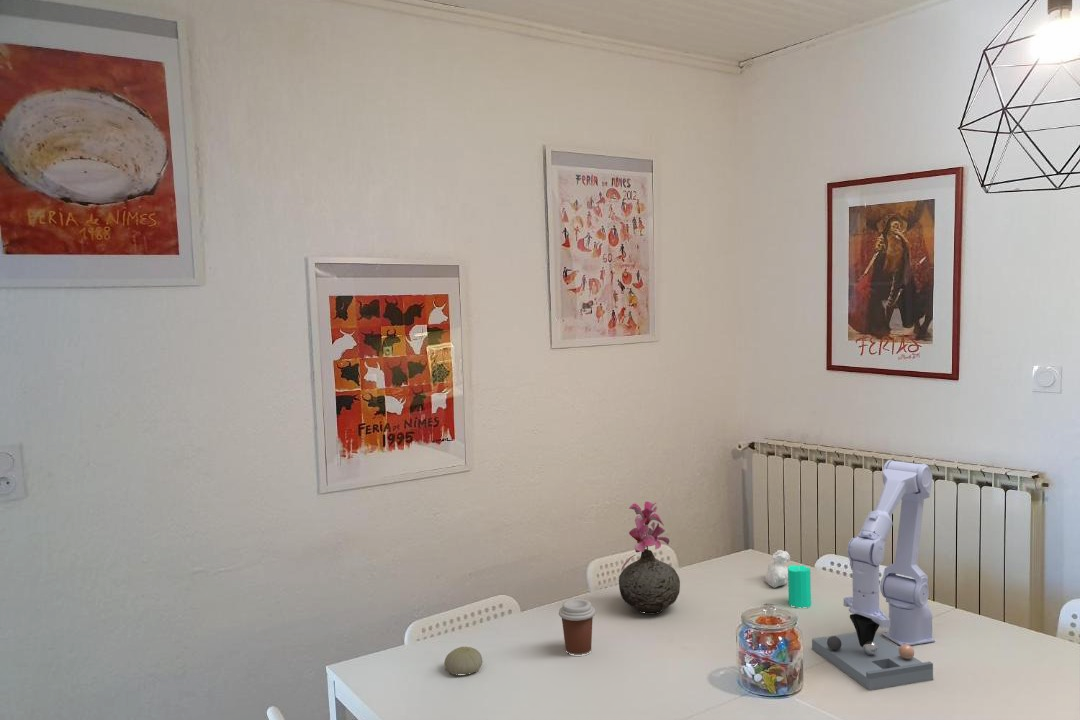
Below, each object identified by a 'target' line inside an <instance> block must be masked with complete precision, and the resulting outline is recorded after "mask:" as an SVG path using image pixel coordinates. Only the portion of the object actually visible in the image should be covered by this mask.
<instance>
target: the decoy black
mask: <svg viewBox="0 0 1080 720" xmlns="http://www.w3.org/2000/svg"><path fill="white" fill-rule="evenodd" d="M830 636H831V637H829V638H828V640H827V645H828V647H829V648H830V649H831V650H839V649H840V648H841V645H842V644H841V640H840V639H839V638H838V637H836V636H835V635H830Z"/></svg>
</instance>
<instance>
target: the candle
mask: <svg viewBox="0 0 1080 720" xmlns="http://www.w3.org/2000/svg"><path fill="white" fill-rule="evenodd" d="M787 568H788V581H787V584H788V589H787V590H788V605H789V604H790V605H792V606H795V607H801V608H803V607H810V606H812V586H811V585H812V581H811V580H812V579H811V568H809V567H807V566H805V565H795V564H794V565H793V564H791V565H790V566H788V567H787ZM790 605H789V606H790ZM810 608H811V607H810Z"/></svg>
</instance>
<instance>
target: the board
mask: <svg viewBox="0 0 1080 720" xmlns="http://www.w3.org/2000/svg"><path fill="white" fill-rule="evenodd" d="M831 636H832V635H829V636H822V637H817V638H816V637H815V638H812V639H811V649H812V650H813V651H815V652H816V653H817V654H818V655H820V656H821V657H823V658H824V659H826V660H827V661H828V662H830V663H831V664H832V665H833V666H835V667H836V668H838V669H839V670H841V671H842V672H843V673H845V674H846V675H847V676H849V677H850V678H852V679H853V680H855V681H856V682H857V683H859V684H860V685H861V686H863V687H864V688H865V689H866V690H868V691H874V690H880V689H887V688H892V686H893V687H898V685H899V686H904V685H903V684H905V685H909V683H911V684H917V683H922V681H923V682H928V681H927V680H929V681H933V680H934V664H933V662H931V661H925V662H924V661H921V660H919V659H918V658H917V657H915V656H913V657H912V658H911V659H904V658H902V657H901V656H900V654H899V648H900V647H898V646H896V645H894V644H893V643H891V642H890V641H889V640H886V639H885V638H883V637H881V636H880V635H878V634H877V633H875V636H874V639H873V642H875V643H876V645H877V646H878V651H877V653H876V654H875V655H868V654H866V653H865V652H864V650H863V647H861V646H860V643H859V640H858V636H857V632H850V633H843V634H836V635H834V636H836V637H838V638H839V639H840V640H841V644H842V645H841V648H840V649H839V650H831V649H830V648H829V647H828V645H827V640H828V638H829V637H831ZM916 682H917V683H916ZM886 687H887V688H886Z"/></svg>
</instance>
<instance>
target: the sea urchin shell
mask: <svg viewBox="0 0 1080 720" xmlns="http://www.w3.org/2000/svg"><path fill="white" fill-rule="evenodd" d="M483 662H484V661H483V657H482V654H481V653H480V651H479V650H478V649H477V648H474V647H471V646H460V647H457V648H455V649H453V650H451V651H450V652H449V653H448V654H447V655H446V656H445V659H444V667H445V669H446V671H447V672H449V673H450V674H451V673H453V674H452V675H454V674H457V675H458V674H469V673H473V672H476V671H478V672H479V670H480V669H481V668H482V666H483ZM476 673H477V672H476ZM473 674H474V673H473ZM457 675H456V676H457Z"/></svg>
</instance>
